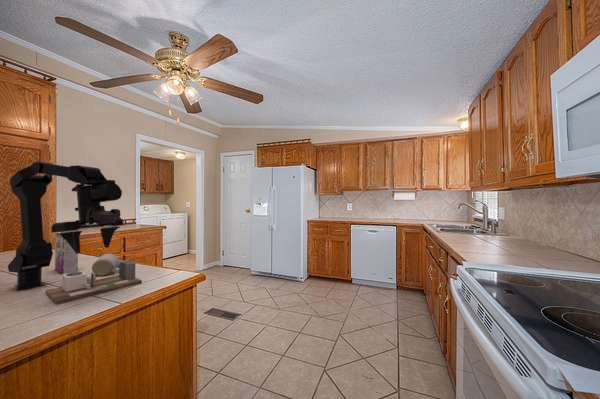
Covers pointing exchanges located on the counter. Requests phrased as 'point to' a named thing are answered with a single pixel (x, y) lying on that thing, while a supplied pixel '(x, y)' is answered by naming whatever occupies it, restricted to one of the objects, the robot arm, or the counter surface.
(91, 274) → the peak needle
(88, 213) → the robot arm
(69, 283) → the gauge
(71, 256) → the candy bar box
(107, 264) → the ceramic mug
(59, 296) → the test rig
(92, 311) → the counter surface
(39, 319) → the counter surface
